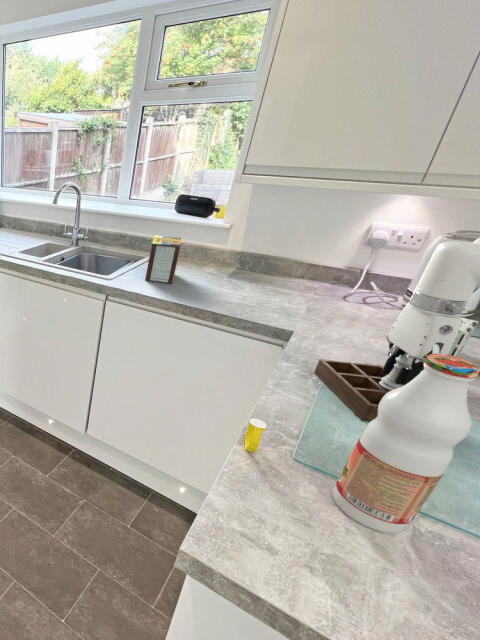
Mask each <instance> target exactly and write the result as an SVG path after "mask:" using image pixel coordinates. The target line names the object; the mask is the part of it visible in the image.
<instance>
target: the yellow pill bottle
mask: <svg viewBox="0 0 480 640" xmlns="http://www.w3.org/2000/svg"><path fill="white" fill-rule="evenodd" d="M267 426H268V425H267V423H266V422H264V421H263V420H262V419H259V418H251V419H249V421H248V426H247V429H246V434H245V437H244V450H245V451H248V452H251V453H256V452H257V450H258V448H259V446H260V443H261V439H262V434H263V431H266V430H267Z"/></svg>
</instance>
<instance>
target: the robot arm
mask: <svg viewBox="0 0 480 640" xmlns="http://www.w3.org/2000/svg"><path fill="white" fill-rule="evenodd" d="M478 285H480V237H478V238H477V239H474V241H472V242H470V241H459V240H448V241H444V242H441V243H439V244H438V245H437V246H436V248H435V249H434V251H433V253H432V255H431V257H430V259H429V261H428V263H427V265H426V267H425V269H424V271H423V273H422V275H421V277H420V279H419V281H418V283H417V285H416V287H415V289H414V291H413V293H412V294H411V297H410V299H409V300H408V303H406V305H405V306H404V307H403V308H402V310H401V311H400V313H399V315H398V316H397V318H396V319H395V321H394V322H393V325H392V327H391V329H390V331H389V334H388V335H386V341H387V342H388V349H389V350H388V352H387V356H388V358H387V359H386V361H385V363H384V365H383V369H382V371H381V372H382V373H383V374H389V373H390V372H391V371H392V369H393V368H394V364H396V363H397V361H396V359H395V358H397V357H399V356H400V355H402V356H403V355H407V356H408V357H409V358H408V361H407V363H406V366H405V367H402V368H401V370H400V372H399V373H398V375H397V377H396V379H395V383H396V384H401V385H406V384H407V383H409V382H410V381H411V380H413V379H414V378H415V377H416V376H418V375H419V374H420V372H421V371H423V370H424V365H423V364H424V361H425V359H426V358H427V357H428V356H429V355H430V354H445V355H448V354H449V352H450V350H451V348H452V346H453V344H454V341H455V339H456V337H457V334H458V331H459V328H460V324H461V319H462V318H461V317H462V316H461V314H462V313H463V311H464V309H465V307H466V305H467V304H468V302H469V300H470V298H471V296H472V295H473V294H474V292H475V289H476V287H477V286H478ZM417 360H418V361H419V360H420V362H418V361H417ZM416 361H417V362H416Z"/></svg>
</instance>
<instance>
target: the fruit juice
mask: <svg viewBox="0 0 480 640" xmlns="http://www.w3.org/2000/svg"><path fill="white" fill-rule="evenodd" d="M423 365H424V370H423V371H422V372H421V373H420V374H419V375H418V376H416V377H415V378H414V379H413V380H411V381H410V382H409V383H407V384H406V385H404V386H403V387H400V388H397V389H394V390H392V391H390V392H388V393H387V394H385V395H384V396H383V398H382V399H381V401H380V402H379V405H378V415H377V417H376V418H375V419H373V420H372V421H371V422H367V424H366V426H365V428H364V429H363V431H362V432H361V434H360V436H359V438H358V439H357V442H356V443H355V446H354V447H353V450H352V452H351V453H350V455H349V457H348V459H347V461H346V463H345V465H344V467H343V468H342V471H341V472H340V474H339V476H338V478H337V480H336V482H335V484H334V486H333V489H332V499H333V501H334V503H335V504H336V505H337V507H338V508H339V509H340V510H341V511H342V512H343V513H344V514H346V515H347V516H348V517H349V518H351V519H352V520H354V521H356V522H357V523H359V524H361V525H362V526H365V527H367V528H369V529H371V530H375V531H378V532H381V533H386V534H400V533H402V532H404V531H406V530H408V528H409V527H410V526H411V524H412V523H413V522H414V520H415V518H416V517H417V516H418V514H419V513H420V511H421V510H422V508H423V506H424V505H425V503H426V502H427V500H428V499H429V497H430V496H431V494H432V493H433V491H434V490H435V488H436V487H437V486H438V484H439V482H440V481H441V479H442V478H443V476H444V475H445V473H446V472H447V471H448V469H449V467H450V465H451V463H452V461H453V458H454V447H455V446H456V445H458V444H459V443H461V442H463V440H465V439H466V438H467V437H468V436H469V434H470V431H472V427H473V420H472V417H471V415H470V412H469V409H468V391H469V384H470V382H473V381H475V380H476V378H478V376H479V374H480V367H479V366H478V365H477V364H475V363H473V362H471V361H469V360H466V359H464V358H461V357H454V356H450V355H445V354H430V355H429V356H428V357H427V358H426V359H425V361H424V364H423Z"/></svg>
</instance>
